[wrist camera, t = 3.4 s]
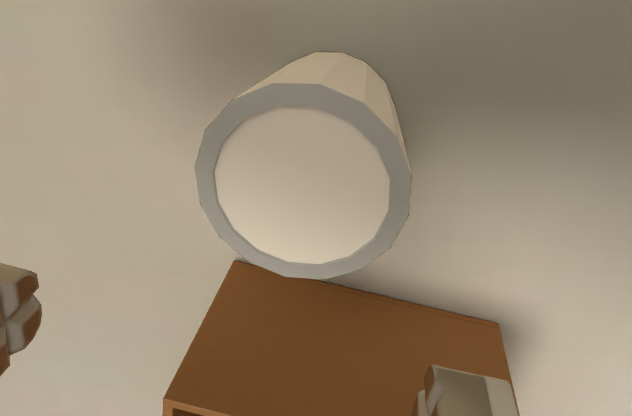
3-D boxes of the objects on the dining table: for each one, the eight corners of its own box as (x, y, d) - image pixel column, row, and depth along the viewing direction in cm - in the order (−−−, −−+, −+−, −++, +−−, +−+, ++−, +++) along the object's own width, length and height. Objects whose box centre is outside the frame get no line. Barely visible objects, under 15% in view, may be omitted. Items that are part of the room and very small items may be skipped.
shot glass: (303, -1, 20) (257, 32, 14) (445, 99, 21) (462, 171, 15) (224, 135, 23) (159, 211, 17) (350, 216, 24) (331, 314, 18)
